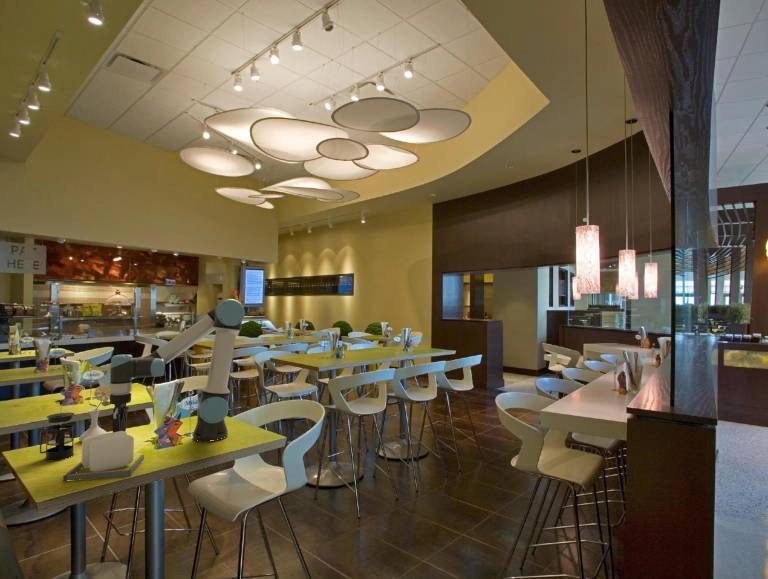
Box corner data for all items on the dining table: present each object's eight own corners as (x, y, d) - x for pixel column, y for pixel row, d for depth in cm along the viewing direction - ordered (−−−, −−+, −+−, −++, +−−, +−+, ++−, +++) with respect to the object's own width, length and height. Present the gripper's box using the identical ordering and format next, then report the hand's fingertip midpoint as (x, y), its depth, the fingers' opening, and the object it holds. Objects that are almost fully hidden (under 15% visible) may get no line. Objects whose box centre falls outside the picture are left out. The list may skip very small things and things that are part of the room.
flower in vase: (77, 446, 192) (79, 388, 193) (79, 439, 202) (81, 384, 203) (112, 441, 198) (113, 385, 199) (113, 435, 208) (114, 382, 209)
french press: (73, 451, 185) (75, 396, 186) (77, 456, 178) (79, 399, 179) (38, 457, 177) (40, 400, 178) (41, 464, 170) (42, 403, 171)
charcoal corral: (143, 460, 174) (144, 454, 174) (130, 475, 158) (130, 470, 158) (83, 464, 169) (83, 459, 169) (63, 481, 153) (63, 475, 153)
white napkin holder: (87, 475, 158) (88, 443, 158) (80, 468, 165) (81, 436, 166) (133, 465, 168) (134, 434, 169) (125, 458, 176) (126, 429, 176)
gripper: (116, 390, 184) (114, 447, 183) (104, 396, 171) (102, 457, 170) (135, 389, 186) (134, 446, 185) (125, 395, 173) (123, 456, 172)
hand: (118, 451), depth 178 cm, fingers closed
